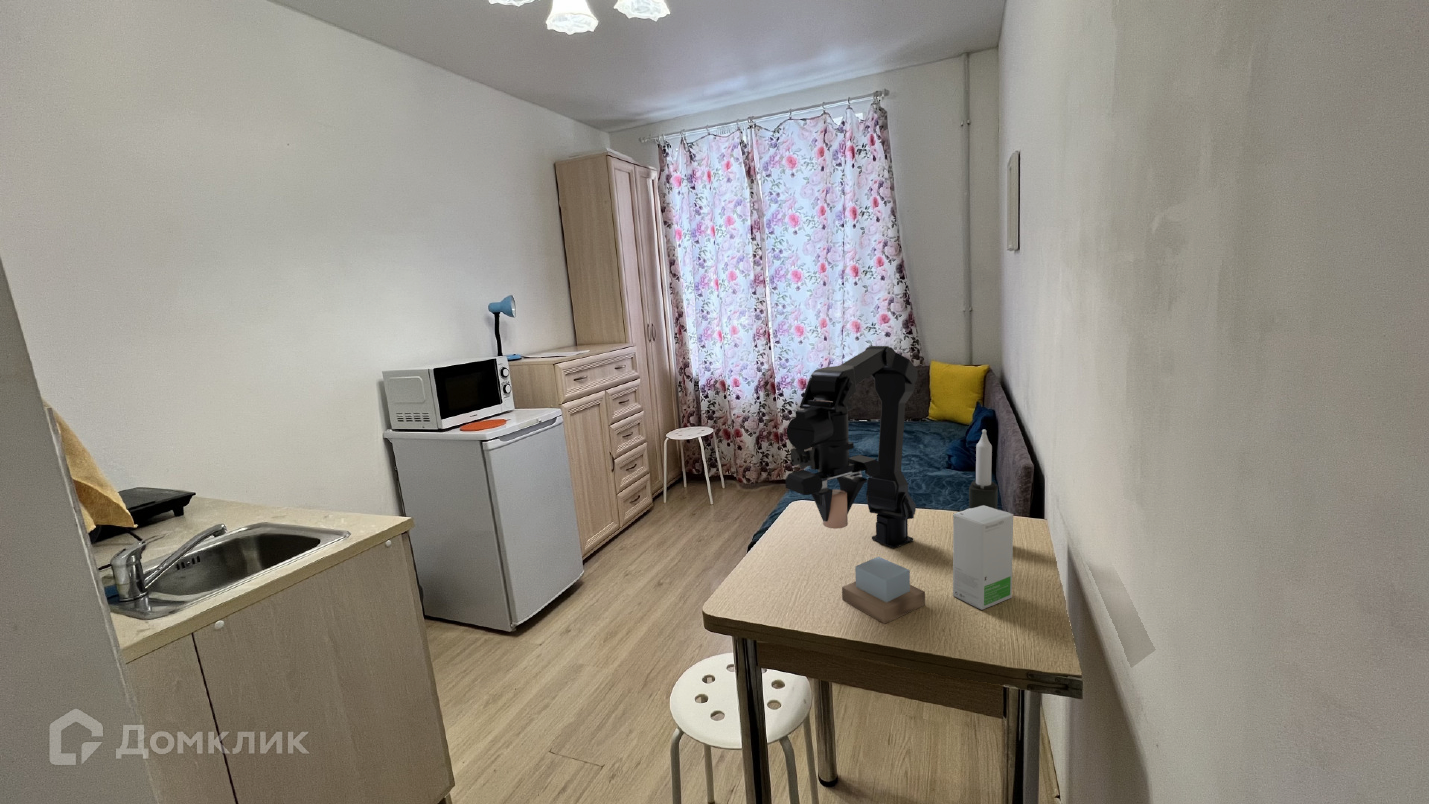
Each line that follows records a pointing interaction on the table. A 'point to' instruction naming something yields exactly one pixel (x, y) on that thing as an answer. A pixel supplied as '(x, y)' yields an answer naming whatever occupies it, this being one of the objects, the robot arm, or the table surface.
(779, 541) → the table surface
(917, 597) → the base slab
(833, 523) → the peach rounded capsule
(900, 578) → the block
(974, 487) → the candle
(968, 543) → the skincare box
